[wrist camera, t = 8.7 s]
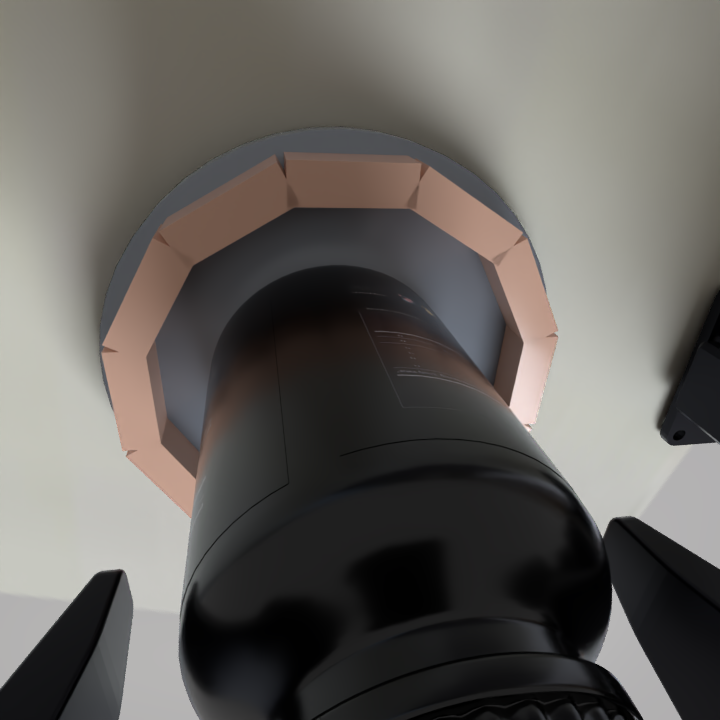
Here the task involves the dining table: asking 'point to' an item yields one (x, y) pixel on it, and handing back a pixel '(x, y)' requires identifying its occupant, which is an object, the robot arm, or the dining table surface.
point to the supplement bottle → (381, 527)
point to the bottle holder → (306, 250)
